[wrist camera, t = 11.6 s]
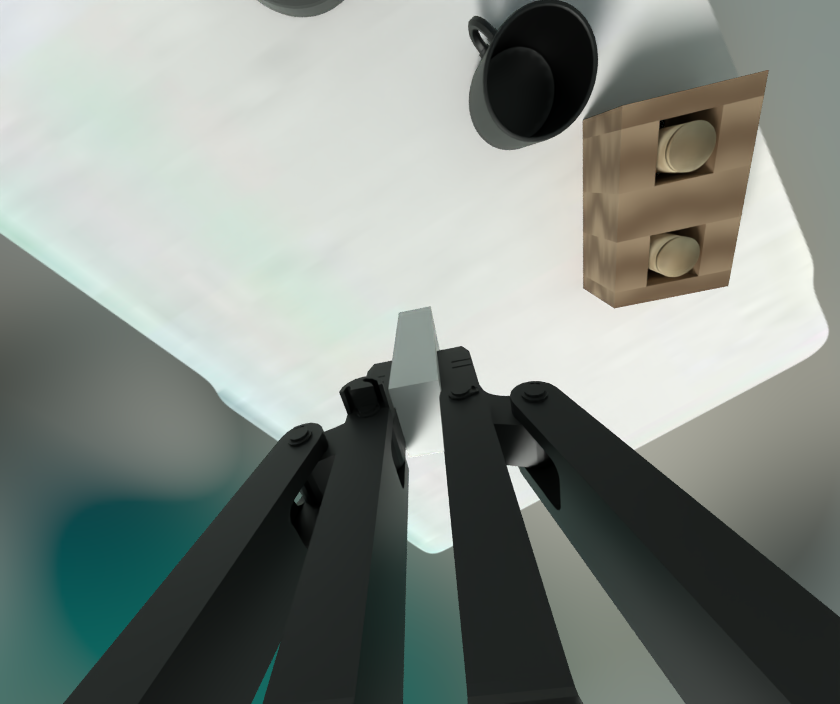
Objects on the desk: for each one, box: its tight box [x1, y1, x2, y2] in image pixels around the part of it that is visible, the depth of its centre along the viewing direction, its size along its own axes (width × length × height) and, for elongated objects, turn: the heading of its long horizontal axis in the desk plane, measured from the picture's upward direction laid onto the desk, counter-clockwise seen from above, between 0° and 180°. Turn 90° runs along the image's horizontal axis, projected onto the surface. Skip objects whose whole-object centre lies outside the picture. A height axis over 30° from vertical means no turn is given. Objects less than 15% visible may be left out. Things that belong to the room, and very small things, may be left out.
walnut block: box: [583, 70, 768, 308], centre depth 37 cm, size 19×12×8 cm, turn 12°
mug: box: [468, 0, 598, 150], centre depth 32 cm, size 9×12×9 cm
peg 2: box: [648, 233, 700, 277], centre depth 39 cm, size 4×4×8 cm
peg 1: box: [655, 120, 716, 173], centre depth 35 cm, size 4×4×8 cm
